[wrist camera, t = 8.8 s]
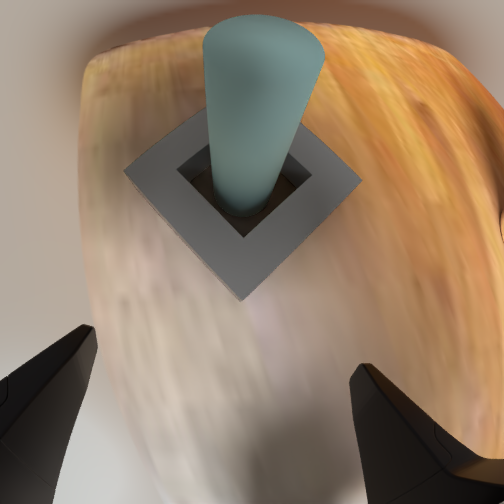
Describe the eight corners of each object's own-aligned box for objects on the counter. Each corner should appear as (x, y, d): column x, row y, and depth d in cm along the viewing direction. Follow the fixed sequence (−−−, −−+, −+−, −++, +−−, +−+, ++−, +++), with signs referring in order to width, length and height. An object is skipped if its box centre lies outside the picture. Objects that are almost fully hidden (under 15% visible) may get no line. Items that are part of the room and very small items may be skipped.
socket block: (346, 196, 21) (362, 180, 18) (240, 301, 19) (242, 301, 16) (244, 104, 22) (247, 80, 19) (136, 188, 20) (123, 170, 17)
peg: (281, 191, 21) (346, 56, 8) (241, 228, 20) (266, 103, 7) (243, 155, 21) (263, 5, 8) (202, 188, 20) (178, 41, 7)
